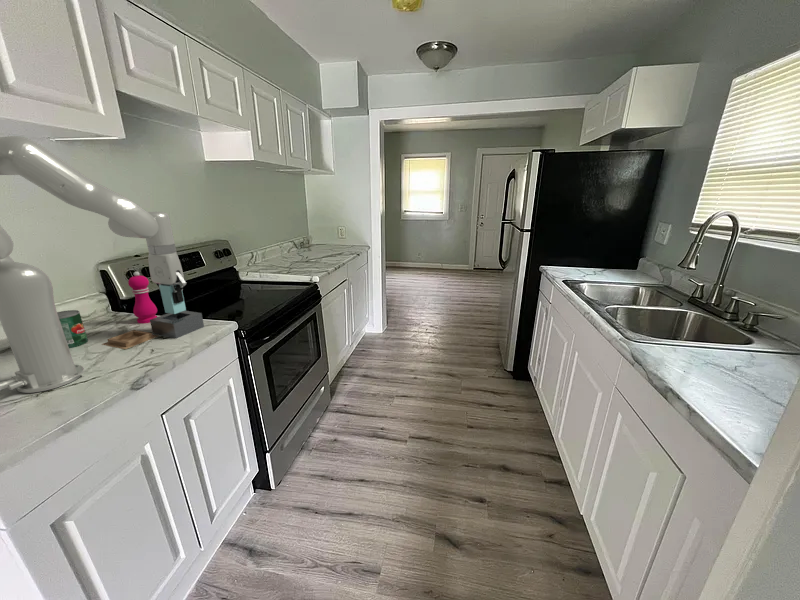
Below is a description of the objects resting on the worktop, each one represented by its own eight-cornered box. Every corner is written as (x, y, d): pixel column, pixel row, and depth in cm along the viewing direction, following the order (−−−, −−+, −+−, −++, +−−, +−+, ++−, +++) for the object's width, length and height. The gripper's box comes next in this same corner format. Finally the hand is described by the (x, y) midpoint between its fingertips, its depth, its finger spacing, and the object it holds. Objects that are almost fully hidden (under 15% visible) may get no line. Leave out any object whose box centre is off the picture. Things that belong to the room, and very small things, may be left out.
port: (176, 340, 111) (173, 322, 109) (153, 335, 114) (149, 318, 112) (204, 328, 121) (201, 312, 119) (182, 324, 124) (178, 308, 122)
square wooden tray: (125, 351, 103) (123, 345, 102) (101, 345, 106) (100, 340, 106) (159, 337, 113) (158, 332, 112) (136, 333, 116) (135, 327, 116)
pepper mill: (131, 324, 124) (118, 273, 118) (150, 317, 131) (138, 269, 124) (145, 326, 122) (133, 274, 116) (164, 319, 129) (152, 270, 123)
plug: (174, 314, 113) (167, 282, 109) (165, 312, 114) (158, 281, 111) (186, 310, 117) (180, 279, 113) (176, 308, 118) (170, 278, 115)
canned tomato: (52, 346, 105) (41, 314, 102) (85, 338, 111) (75, 308, 108) (58, 353, 101) (47, 320, 97) (91, 344, 107) (82, 313, 104)
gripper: (132, 250, 108) (145, 302, 113) (170, 253, 103) (181, 307, 109) (155, 246, 115) (166, 296, 120) (191, 249, 110) (201, 301, 115)
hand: (173, 301), depth 114 cm, fingers closed on plug, 4 cm apart
